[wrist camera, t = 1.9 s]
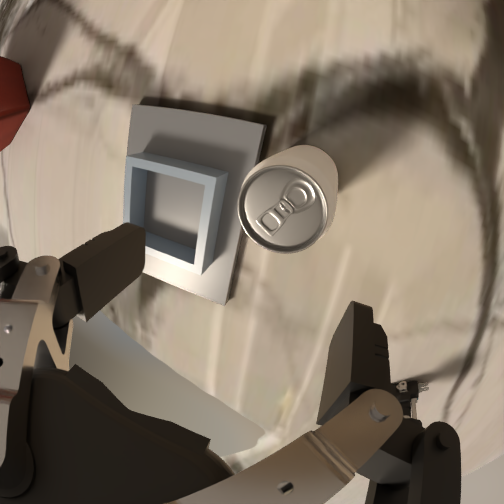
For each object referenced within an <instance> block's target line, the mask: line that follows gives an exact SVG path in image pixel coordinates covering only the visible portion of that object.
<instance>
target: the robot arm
mask: <svg viewBox="0 0 504 504" xmlns="http://www.w3.org/2000/svg"><path fill="white" fill-rule="evenodd" d="M145 246H146V232H145V229H144V228H143V227H140V226H137V225H134V224H132V223H129V222H126V223H124V224H122V225H120V226H119V227H117V228H115V229H113V230H111V231H108V232H104V233H101V234H99V235H98V236H96V237H94V238H93V239H92V240H89V241H87V242H86V243H85V244H82V245H81V246H79V247H77V248H76V249H74V250H72V251H71V252H69V253H68V254H66V255H64V256H63V257H61V258H60V259H57V258H56V257H53V256H40V257H37V258H34V259H33V260H31V261H30V262H29V263H26V262H22V261H19V258H18V254H17V250H16V248H14V247H12V246H4V247H0V504H324V503H325V502H327V501H328V500H329V499H330V498H331V497H333V496H334V495H335V494H336V493H337V492H339V491H340V490H341V489H342V488H343V487H344V486H346V485H347V484H348V483H349V482H350V481H351V480H352V479H353V478H354V476H355V474H354V473H355V472H356V473H358V474H360V475H362V476H364V477H366V478H368V479H370V482H369V487H368V492H367V496H366V501H365V504H460V498H461V452H460V440H459V437H458V434H457V433H456V431H455V430H454V428H453V427H451V426H450V425H449V424H447V423H445V422H440V421H438V422H434V423H432V424H430V425H429V426H428V427H427V428H426V429H425V428H423V427H421V426H419V425H417V424H415V423H413V422H411V421H409V420H408V419H406V418H404V417H403V410H402V407H401V405H400V403H399V401H398V400H397V399H396V398H395V397H394V396H393V395H392V394H391V381H390V365H389V360H388V358H389V352H388V341H387V336H386V334H385V332H384V330H383V328H382V326H381V325H379V324H376V323H374V322H373V309H372V307H370V306H367V305H364V304H361V303H358V302H355V301H351V302H350V304H349V306H348V308H347V310H346V312H345V314H344V316H343V318H342V319H341V321H340V323H339V325H338V327H337V329H336V331H335V333H334V335H333V338H332V340H331V343H330V347H329V353H328V360H327V367H326V373H325V379H324V385H323V391H322V396H321V402H320V407H319V412H318V417H317V422H316V424H318V425H322V426H321V427H320V428H318V429H317V430H315V431H309V432H307V433H305V434H304V435H302V436H301V437H299V438H297V439H296V440H294V441H293V442H291V443H290V444H288V445H287V446H285V447H283V448H282V449H280V450H278V451H277V452H275V453H273V454H272V455H270V456H268V457H267V458H265V459H263V460H261V461H260V462H258V463H256V464H254V465H252V466H250V467H249V468H247V469H245V470H243V471H241V472H239V473H237V474H234V472H233V471H232V470H231V468H230V467H229V466H228V465H227V464H226V463H225V462H224V460H222V459H221V458H220V457H219V456H218V455H217V454H215V453H214V452H212V451H211V450H210V449H209V444H210V440H211V439H209V438H206V437H204V436H202V435H199V434H197V433H195V432H192V431H190V430H188V429H186V428H184V427H181V426H179V425H177V424H175V423H173V422H170V421H166V420H162V419H158V418H155V417H151V416H147V415H144V414H140V413H137V412H134V411H131V410H129V409H128V408H126V407H125V406H124V405H123V404H122V403H121V402H120V401H119V400H118V399H117V398H116V397H115V396H114V395H113V393H112V392H111V391H110V390H109V389H108V388H107V387H106V386H105V385H104V384H103V383H102V382H101V381H99V380H98V379H96V378H95V377H93V376H92V375H90V374H89V373H87V372H86V371H84V370H83V369H82V368H80V367H79V366H78V365H76V364H75V365H74V366H73V367H72V368H71V369H70V370H69V354H70V346H71V338H72V330H73V320H72V318H73V317H75V316H78V317H79V318H81V319H82V320H84V321H85V322H87V321H88V320H89V319H90V318H92V317H93V316H94V315H95V314H96V313H97V312H98V311H99V310H101V309H102V308H103V307H104V306H105V305H106V304H107V303H109V302H110V301H111V300H112V299H113V298H114V297H115V296H117V295H118V294H119V293H120V292H121V291H122V290H124V289H125V288H126V287H127V286H128V285H129V284H131V283H132V282H133V281H134V280H135V279H137V278H138V277H139V276H140V275H141V273H142V272H143V269H144V266H145Z"/></svg>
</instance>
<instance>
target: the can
mask: <svg viewBox="0 0 504 504" xmlns="http://www.w3.org/2000/svg"><path fill="white" fill-rule="evenodd" d="M337 193H338V172H337V168H336V165H335V163H334V161H333V160H332V158H331V157H330V156H329V155H328V154H327V153H325V152H324V151H322V150H321V149H319V148H317V147H314V146H310V145H298V146H294V147H291V148H289V149H286V150H284V151H282V152H279V153H277V154H275V155H273V156H271V157H269V158H267V159H265V160H263V161H262V162H260V163H259V164H257V165H256V166H255V167H254V168H253V169H252V170H251V171H250V172H249V173H248V175H247V176H246V178H245V180H244V182H243V184H242V187H241V191H240V193H239V197H238V215H239V219H240V222H241V225H242V227H243V229H244V230H245V232H246V233H247V235H248V236H249V237H250V238H251V239H252V240H253V241H254V242H255V243H257V244H258V245H259V246H261V247H263V248H265V249H267V250H269V251H272V252H276V253H284V254H287V253H296V252H299V251H302V250H305V249H307V248H308V247H310V246H311V245H313V244H314V243H315V242H316V241H318V240H319V239H320V238H321V237H323V235H324V234H325V233H326V232H327V231H328V229H329V227H330V226H331V224H332V221H333V219H334V215H335V211H336V203H337Z"/></svg>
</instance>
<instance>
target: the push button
mask: <svg viewBox="0 0 504 504" xmlns="http://www.w3.org/2000/svg"><path fill="white" fill-rule="evenodd" d="M424 384H426V385H424ZM427 385H428V382H426V383H419V384H418V383H417V381H411V382H406V381H402V382H400V383H399V384H395V385H394V384H391V394H392V395H393V396H394V397H395V398H396V399H397V400H398V401H399V403H400V405H401V407H402V410H403V417H404V418H406V419H408V420H409V421H411V422H413V423H415V424H417V425H419V426H421V427H422V423H421V421H420V420H417V414H416V403H417V400H418V395H419V393H420V392H422V391H427V390H428V389H429V387H425V388H426V390H424V389H425V388H421V387H424V386H427ZM411 407H412V418H411Z"/></svg>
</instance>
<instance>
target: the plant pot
mask: <svg viewBox="0 0 504 504" xmlns="http://www.w3.org/2000/svg"><path fill="white" fill-rule="evenodd" d="M29 109H30V104H29V100H28V96H27V92H26V88H25V84H24V80H23V75H22V71H21V66H20V64H18V63H16V62H14V61H12V60H9V59H7V58H4V57H1V56H0V151H2V150H3V149H4V148H6V147H7V146H8V145H9V144H10V143H11V141H12V140H13V138H14V136H15V134H16V132H17V131H18V129H19V127H20V125H21V124H22V122H23V120H24V119H25V117H26V115H27V114H28V112H29Z"/></svg>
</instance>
